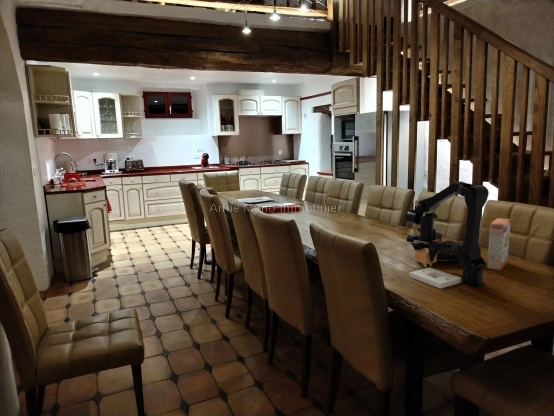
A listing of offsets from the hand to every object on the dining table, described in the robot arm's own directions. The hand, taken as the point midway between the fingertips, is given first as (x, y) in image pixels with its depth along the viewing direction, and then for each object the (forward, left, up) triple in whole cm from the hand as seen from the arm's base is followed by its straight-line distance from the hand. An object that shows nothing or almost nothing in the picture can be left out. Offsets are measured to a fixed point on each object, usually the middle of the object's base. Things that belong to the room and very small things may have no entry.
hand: (425, 259), depth 177 cm
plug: (0, 0, -3) cm, 3 cm away
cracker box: (-16, -28, -4) cm, 33 cm away
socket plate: (-13, +9, -4) cm, 16 cm away
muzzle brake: (+1, -14, -4) cm, 15 cm away
